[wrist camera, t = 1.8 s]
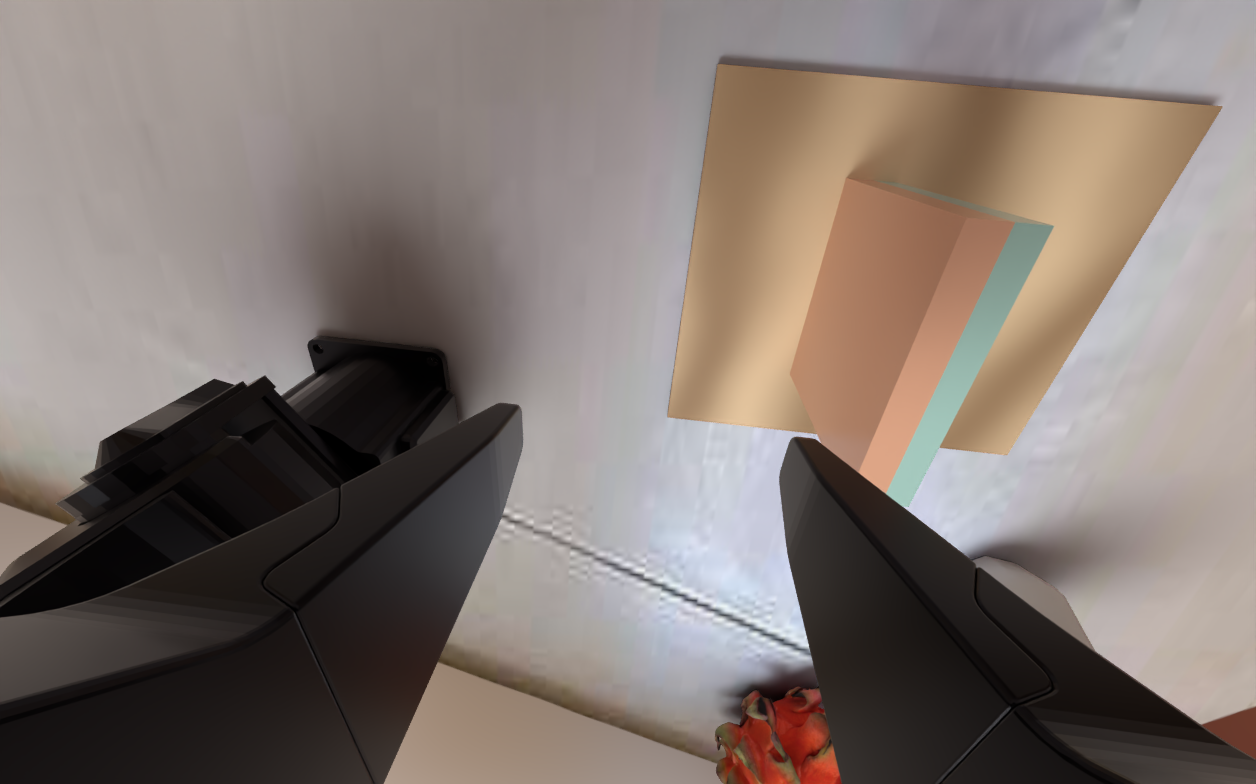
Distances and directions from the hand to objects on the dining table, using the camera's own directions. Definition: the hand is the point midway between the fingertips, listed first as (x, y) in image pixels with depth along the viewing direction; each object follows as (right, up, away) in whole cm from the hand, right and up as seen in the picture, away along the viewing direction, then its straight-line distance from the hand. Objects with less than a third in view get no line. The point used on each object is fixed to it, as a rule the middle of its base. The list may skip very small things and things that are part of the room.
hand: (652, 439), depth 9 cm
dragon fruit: (+11, -22, +26) cm, 35 cm away
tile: (+8, +5, +10) cm, 14 cm away
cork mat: (+10, +5, +10) cm, 15 cm away
